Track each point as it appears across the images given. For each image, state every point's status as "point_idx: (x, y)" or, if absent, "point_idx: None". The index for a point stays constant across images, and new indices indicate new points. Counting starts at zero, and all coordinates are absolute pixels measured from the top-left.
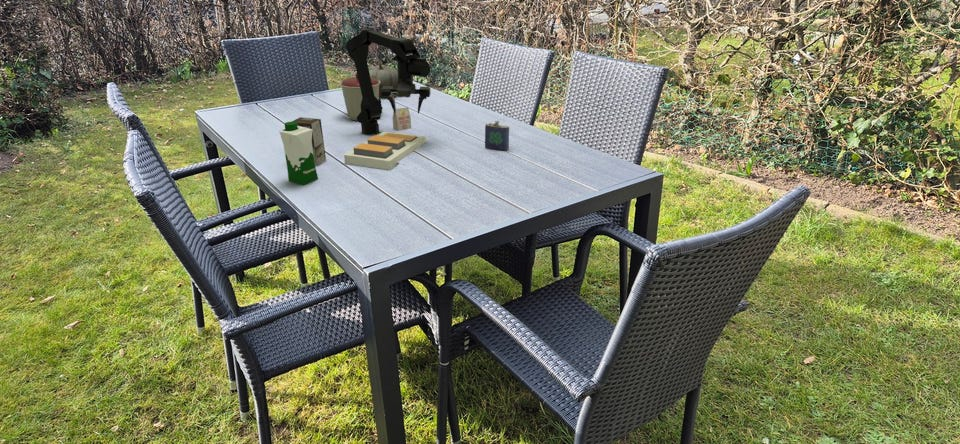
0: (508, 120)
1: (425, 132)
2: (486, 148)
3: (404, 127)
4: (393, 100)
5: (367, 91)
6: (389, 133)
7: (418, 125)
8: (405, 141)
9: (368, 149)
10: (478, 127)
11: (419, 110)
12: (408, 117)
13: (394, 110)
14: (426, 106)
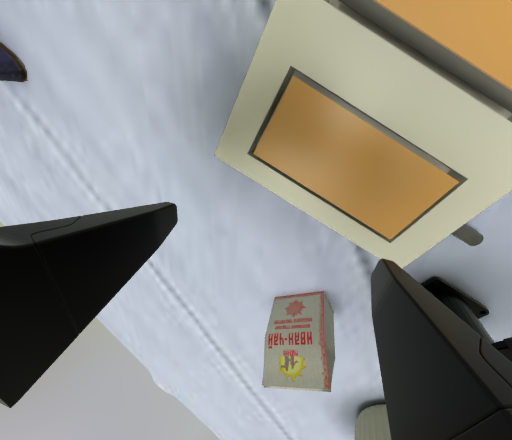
0: None
1: (233, 270)
2: (17, 58)
3: (295, 306)
4: (478, 437)
5: None
6: (384, 227)
7: (252, 324)
8: (320, 81)
9: None
10: None
11: (141, 206)
12: (272, 338)
13: (401, 275)
14: (233, 405)
